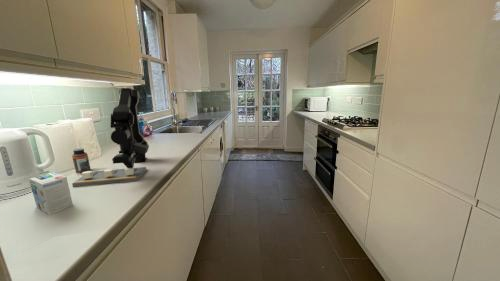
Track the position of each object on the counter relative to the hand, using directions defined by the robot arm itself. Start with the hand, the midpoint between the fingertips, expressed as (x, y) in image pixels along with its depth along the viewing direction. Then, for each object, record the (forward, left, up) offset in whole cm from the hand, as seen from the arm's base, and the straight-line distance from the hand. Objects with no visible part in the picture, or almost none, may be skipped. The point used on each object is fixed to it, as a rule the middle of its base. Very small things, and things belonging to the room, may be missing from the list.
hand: (131, 171), depth 95 cm
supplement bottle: (-14, -28, -3) cm, 31 cm away
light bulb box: (+22, -18, -3) cm, 28 cm away
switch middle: (+2, -9, -1) cm, 9 cm away
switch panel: (-1, -9, -3) cm, 9 cm away
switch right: (+2, -17, -1) cm, 17 cm away
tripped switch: (+2, 0, -1) cm, 2 cm away
